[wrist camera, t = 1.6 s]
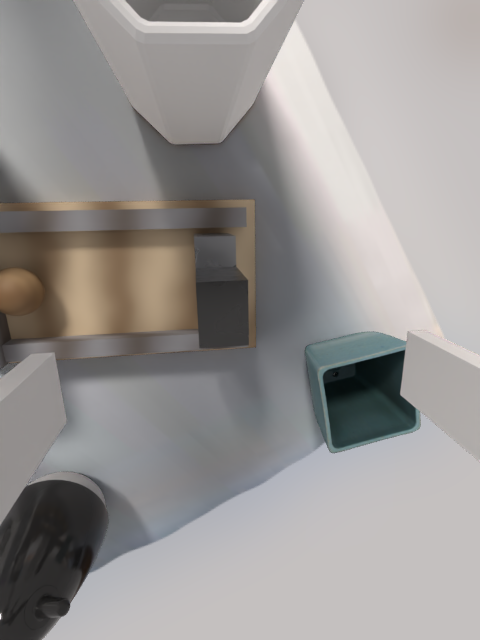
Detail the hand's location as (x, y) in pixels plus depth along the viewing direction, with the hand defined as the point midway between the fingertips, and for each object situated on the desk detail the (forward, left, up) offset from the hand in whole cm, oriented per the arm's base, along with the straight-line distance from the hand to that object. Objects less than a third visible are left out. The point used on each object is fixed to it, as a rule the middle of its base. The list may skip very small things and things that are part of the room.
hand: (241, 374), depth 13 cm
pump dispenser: (+24, -17, -22) cm, 37 cm away
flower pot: (+10, +13, -22) cm, 28 cm away
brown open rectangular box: (0, -9, -22) cm, 24 cm away
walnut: (0, -16, -18) cm, 24 cm away
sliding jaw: (0, 0, -20) cm, 20 cm away
